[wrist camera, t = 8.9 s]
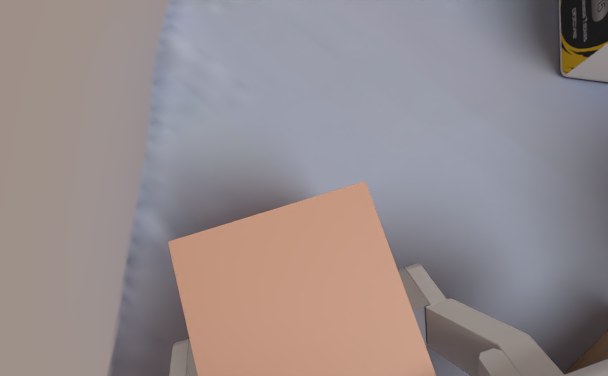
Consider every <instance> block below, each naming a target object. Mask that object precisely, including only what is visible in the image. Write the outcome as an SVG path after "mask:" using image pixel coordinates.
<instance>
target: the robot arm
mask: <svg viewBox="0 0 608 376" xmlns="http://www.w3.org/2000/svg"><path fill="white" fill-rule="evenodd" d="M398 272H399V275H400V277H401V280H402V283H403V286H404V288H405V291H406V294H407V297H408V299H409V302H410V305H411V308H412V310H413V313H414V316H415V319H416V321H417V324H418V327H419V330H420V332H421V335H422V338H423V340H424V343H425V345H427V344H428V346H429V347H430V348H432V349H433V350H435V351H436V352H437V353H439V354H440V355H442V356H443V357H445V358H446V359H448V360H449V361H450V362H452V363H453V364H455V365H456V366H458V367H459V368H460V369H462V370H463V371H465V372H466V373H468V374H469V375H471V376H608V359H606V360H604V361H601V362H598V363H595V364H593V365H590V366H587V367H584V368H582V369H579V370H576V371H573V372H571V373H568V374H565V375H564V374H563V372H562V371H561V370H560V369H559V368H558V367H557V366H556V365H555V363H554V362H553V361H552V360H551V359H550V358H549V357H548V356H547V354H546V353H545V352H544V351H543V350H542V349H541V348H540V347H539V345H538V344H537V343H536V342H535V341H534V340H533V339H532V338H531V336H530V335H529V334H527V333H524V332H522V331H520V330H518V329H516V328H514V327H512V326H509V325H507V324H505V323H503V322H501V321H499V320H497V319H495V318H492V317H490V316H488V315H486V314H484V313H482V312H480V311H477V310H475V309H473V308H471V307H469V306H467V305H465V304H463V303H460V302H458V301H456V300H454V299H452V298H450V299H446V298H445V296H444V295H443V294H442V292H441V291H440V290H439V288H438V287H437V286H436V284H435V283H434V282H433V280H432V279H431V278H430V276H429V275H428V273H427V272H426V271H425V269H424V268H423V267H422V265H421V264H419V263H416V264H413V265H410V266H407V267H404V268H400V269H398ZM169 376H198V374H197V370H196V365H195V361H194V356H193V352H192V347H191V343H190V339H186V340H183V341H179V342H176V343H174V345H173V348H172V354H171V363H170V371H169Z"/></svg>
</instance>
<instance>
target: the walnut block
mask: <svg viewBox="0 0 608 376" xmlns="http://www.w3.org/2000/svg"><path fill="white" fill-rule="evenodd" d="M606 359H608V330H607V331H606V332H605V333H604V334H603V335H602V336H601V337H600V338H599V339H598V340H597V341H596V342H595V343H594V344H593V345H592V346H591V347H590V348H589V349H588V350H587V351H586V352H585V353H584V354H583V355H582V356H581V357H580V358H579V359H578V360H577V361H576V362H575V363H574V364H573V365H572V366H571V367H570V368H569V369H568V370H567V371H566V372H565V373H564V375H565V374H568V373H571V372H573V371H576V370H579V369H582V368H584V367H587V366H590V365H593V364H595V363H598V362H601V361H604V360H606Z"/></svg>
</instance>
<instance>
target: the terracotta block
mask: <svg viewBox="0 0 608 376" xmlns="http://www.w3.org/2000/svg"><path fill="white" fill-rule="evenodd" d="M168 245H169V250H170V254H171V258H172V263H173V267H174V272H175V276H176V281H177V285H178V290H179V294H180V299H181V303H182V307H183V312H184V316H185V321H186V325H187V330H188V334H189V339H190V343H191V347H192V352H193V356H194V361H195V365H196V370H197V374H198V376H436V373H435V371H434V368H433V365H432V362H431V360H430V357H429V354H428V351H427V349H426V346H425V343H424V340H423V338H422V335H421V332H420V330H419V327H418V324H417V321H416V319H415V316H414V313H413V310H412V308H411V305H410V302H409V299H408V297H407V294H406V291H405V288H404V286H403V283H402V280H401V277H400V275H399V272H398V269H397V267H396V264H395V261H394V258H393V256H392V253H391V250H390V247H389V245H388V242H387V239H386V236H385V234H384V231H383V228H382V225H381V223H380V220H379V217H378V215H377V212H376V209H375V206H374V204H373V201H372V198H371V195H370V193H369V190H368V187H367V184H366V182H365V181H364V182H360V183H357V184H354V185H351V186H347V187H344V188H341V189H338V190H334V191H331V192H328V193H325V194H321V195H318V196H315V197H312V198H308V199H305V200H302V201H299V202H295V203H292V204H289V205H286V206H282V207H279V208H276V209H273V210H269V211H266V212H263V213H260V214H256V215H253V216H250V217H247V218H243V219H240V220H237V221H234V222H230V223H227V224H224V225H221V226H217V227H214V228H211V229H207V230H204V231H201V232H198V233H194V234H191V235H188V236H185V237H181V238H178V239H175V240H172V241H168Z"/></svg>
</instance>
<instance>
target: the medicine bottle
mask: <svg viewBox="0 0 608 376" xmlns="http://www.w3.org/2000/svg"><path fill="white" fill-rule="evenodd" d="M559 32H560V70H561V74H562V75H563V76H565V77H570V78H578V79H586V80H594V81H602V82H608V0H559Z"/></svg>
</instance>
